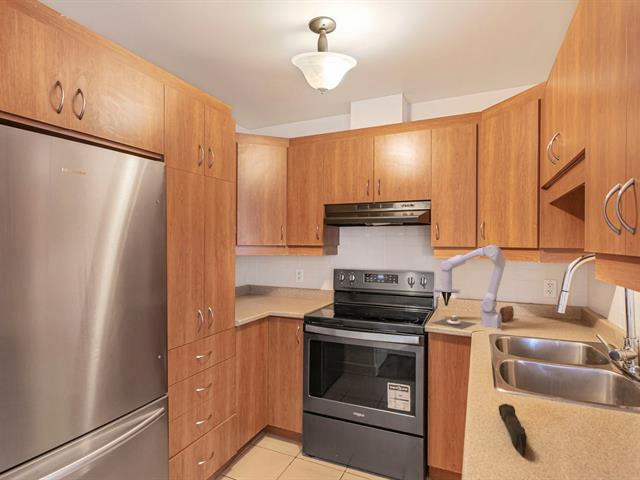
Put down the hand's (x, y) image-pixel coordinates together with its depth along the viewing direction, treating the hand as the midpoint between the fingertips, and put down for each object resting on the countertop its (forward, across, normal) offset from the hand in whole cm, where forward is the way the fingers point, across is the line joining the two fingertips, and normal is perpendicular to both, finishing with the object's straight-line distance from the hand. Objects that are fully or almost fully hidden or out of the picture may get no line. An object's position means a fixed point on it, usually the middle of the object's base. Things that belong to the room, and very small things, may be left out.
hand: (446, 305), depth 210 cm
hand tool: (+10, -16, +122) cm, 123 cm away
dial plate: (+9, -4, +8) cm, 13 cm away
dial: (+8, -4, +6) cm, 11 cm away
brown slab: (+10, -33, -17) cm, 38 cm away
